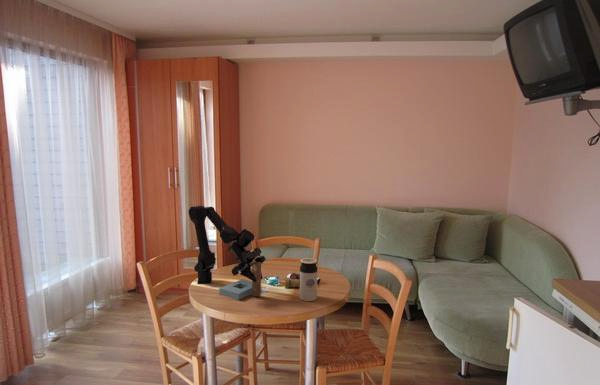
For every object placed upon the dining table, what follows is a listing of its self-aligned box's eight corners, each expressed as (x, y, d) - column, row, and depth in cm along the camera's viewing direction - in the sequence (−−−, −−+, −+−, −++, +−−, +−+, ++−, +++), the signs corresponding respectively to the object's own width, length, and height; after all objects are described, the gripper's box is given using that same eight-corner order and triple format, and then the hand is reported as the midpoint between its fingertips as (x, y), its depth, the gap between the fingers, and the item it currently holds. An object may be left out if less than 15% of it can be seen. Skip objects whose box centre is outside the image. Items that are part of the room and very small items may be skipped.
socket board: (219, 294, 178) (219, 288, 177) (242, 284, 191) (242, 279, 191) (238, 300, 171) (238, 293, 171) (261, 289, 184) (261, 283, 184)
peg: (252, 296, 173) (252, 264, 171) (252, 293, 177) (252, 261, 175) (261, 295, 174) (261, 264, 172) (260, 292, 178) (260, 261, 176)
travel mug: (299, 294, 178) (300, 257, 176) (316, 295, 178) (317, 258, 176) (299, 301, 170) (299, 262, 168) (316, 302, 170) (317, 263, 168)
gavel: (284, 269, 207) (302, 269, 207) (284, 278, 207) (302, 277, 208) (285, 280, 186) (305, 279, 187) (285, 289, 186) (305, 289, 187)
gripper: (236, 247, 167) (255, 276, 162) (263, 239, 183) (281, 265, 178) (223, 261, 172) (241, 289, 168) (250, 252, 188) (267, 278, 183)
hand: (258, 280), depth 174 cm, fingers closed on peg, 4 cm apart
